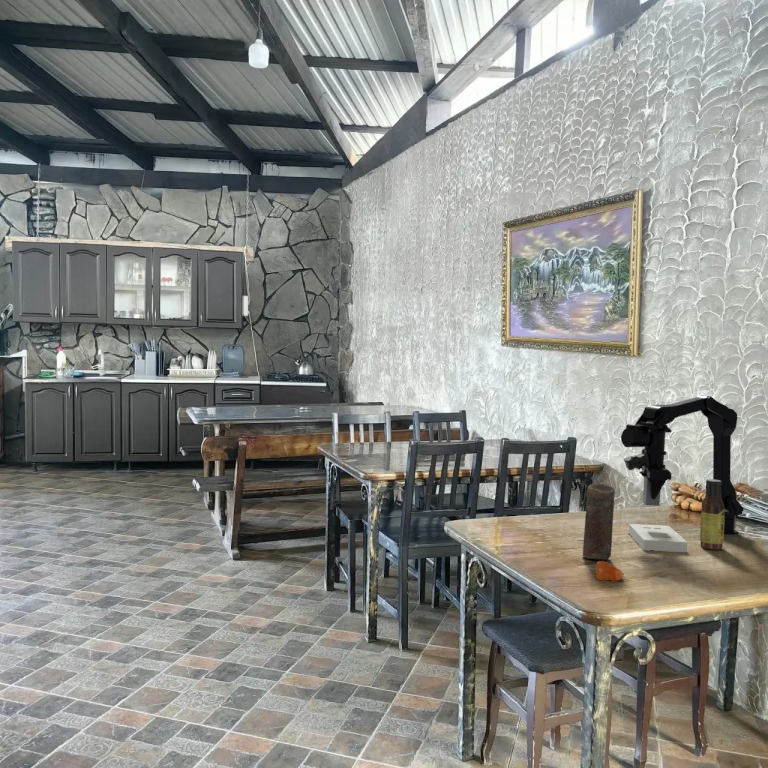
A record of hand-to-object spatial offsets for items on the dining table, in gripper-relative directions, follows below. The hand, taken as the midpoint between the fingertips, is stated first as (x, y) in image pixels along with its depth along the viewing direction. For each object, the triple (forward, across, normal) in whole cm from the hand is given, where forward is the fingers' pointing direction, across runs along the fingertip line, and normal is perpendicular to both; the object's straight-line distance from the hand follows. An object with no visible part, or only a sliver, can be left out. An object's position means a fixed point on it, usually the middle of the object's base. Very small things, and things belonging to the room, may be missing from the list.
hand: (651, 497), depth 215 cm
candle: (+13, +26, -20) cm, 35 cm away
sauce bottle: (+12, +8, +16) cm, 21 cm away
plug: (+2, 0, 0) cm, 2 cm away
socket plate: (+12, +6, +1) cm, 14 cm away
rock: (+14, +42, -20) cm, 49 cm away
